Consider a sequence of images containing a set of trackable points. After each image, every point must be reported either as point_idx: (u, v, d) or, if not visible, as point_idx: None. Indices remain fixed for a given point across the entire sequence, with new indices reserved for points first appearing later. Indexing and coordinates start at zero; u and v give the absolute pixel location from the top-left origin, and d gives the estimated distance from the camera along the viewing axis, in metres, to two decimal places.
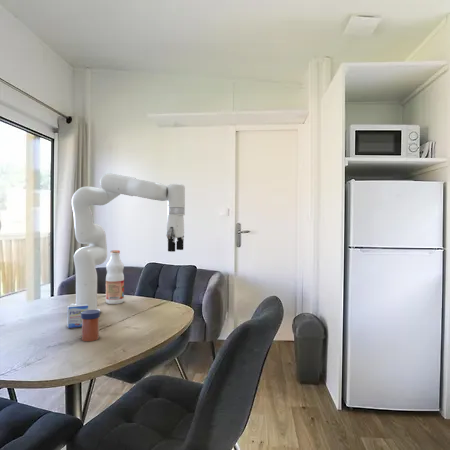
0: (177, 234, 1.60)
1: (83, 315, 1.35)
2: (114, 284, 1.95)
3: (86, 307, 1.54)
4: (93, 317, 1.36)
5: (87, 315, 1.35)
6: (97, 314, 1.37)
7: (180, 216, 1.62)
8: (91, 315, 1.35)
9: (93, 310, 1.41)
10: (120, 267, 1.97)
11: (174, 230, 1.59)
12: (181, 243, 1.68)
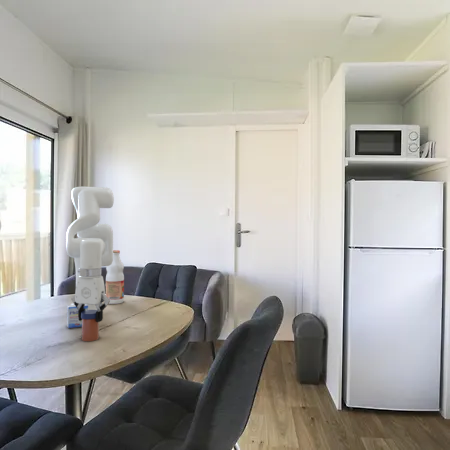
0: None
1: (83, 315, 1.35)
2: (114, 284, 1.95)
3: (86, 307, 1.54)
4: (93, 317, 1.36)
5: (87, 315, 1.35)
6: None
7: None
8: (91, 315, 1.35)
9: (93, 310, 1.40)
10: (120, 267, 1.97)
11: None
12: None
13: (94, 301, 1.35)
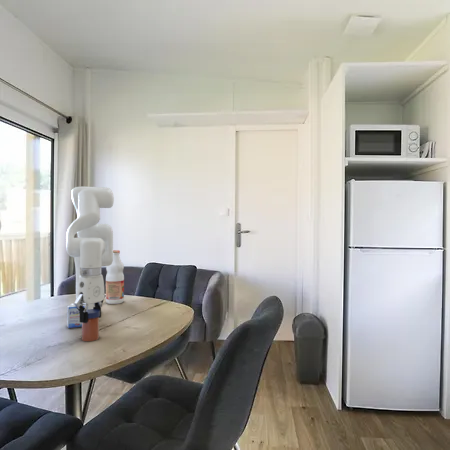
0: None
1: (96, 314, 1.37)
2: (114, 284, 1.95)
3: None
4: None
5: (99, 312, 1.38)
6: None
7: None
8: (99, 312, 1.40)
9: None
10: (120, 267, 1.97)
11: None
12: None
13: (102, 297, 1.41)
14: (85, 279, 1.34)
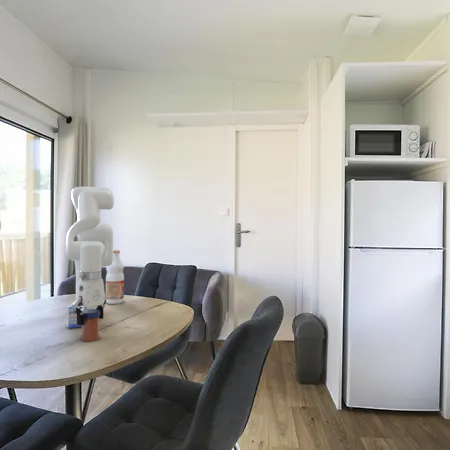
0: None
1: (97, 313, 1.37)
2: (114, 284, 1.95)
3: None
4: None
5: (99, 312, 1.39)
6: None
7: None
8: None
9: None
10: (120, 267, 1.97)
11: None
12: None
13: (102, 301, 1.41)
14: (84, 283, 1.34)
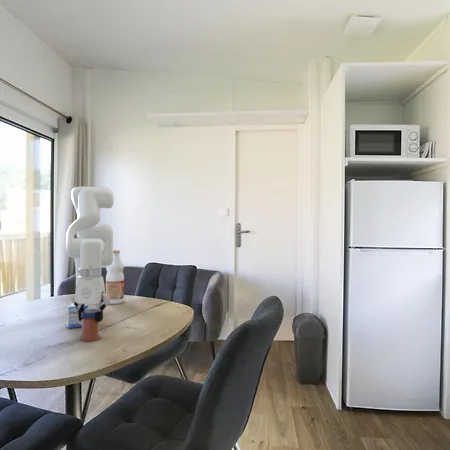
0: None
1: None
2: (114, 284, 1.95)
3: (86, 307, 1.54)
4: None
5: None
6: None
7: None
8: None
9: (84, 310, 1.38)
10: (120, 267, 1.97)
11: None
12: None
13: (94, 301, 1.35)
14: None
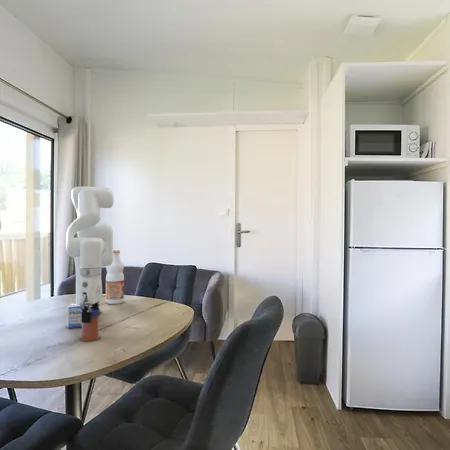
0: None
1: None
2: (114, 284, 1.95)
3: None
4: None
5: None
6: None
7: None
8: None
9: None
10: (120, 267, 1.97)
11: None
12: None
13: (101, 296, 1.42)
14: (89, 279, 1.34)
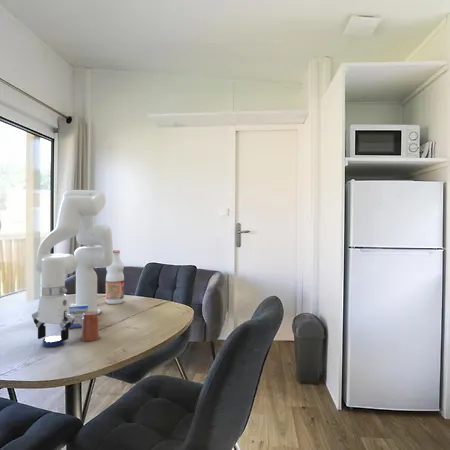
0: (40, 319, 1.31)
1: None
2: (114, 284, 1.95)
3: (86, 307, 1.54)
4: (43, 345, 1.30)
5: None
6: (46, 343, 1.29)
7: (45, 297, 1.30)
8: (43, 342, 1.30)
9: (59, 339, 1.32)
10: (120, 267, 1.97)
11: None
12: None
13: None
14: (66, 296, 1.32)
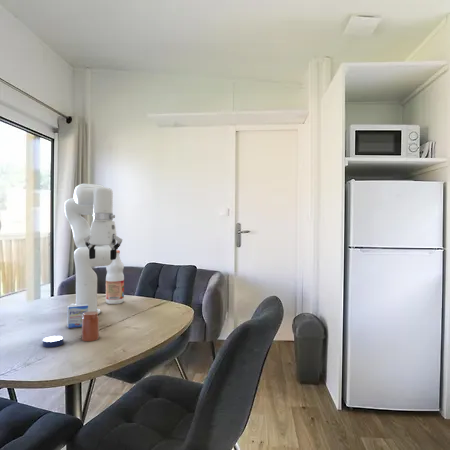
0: (92, 241, 1.52)
1: None
2: (114, 284, 1.95)
3: (86, 307, 1.54)
4: (43, 345, 1.30)
5: None
6: (46, 343, 1.29)
7: (97, 222, 1.50)
8: (43, 342, 1.30)
9: (59, 339, 1.32)
10: (120, 267, 1.97)
11: None
12: None
13: None
14: (114, 222, 1.53)
